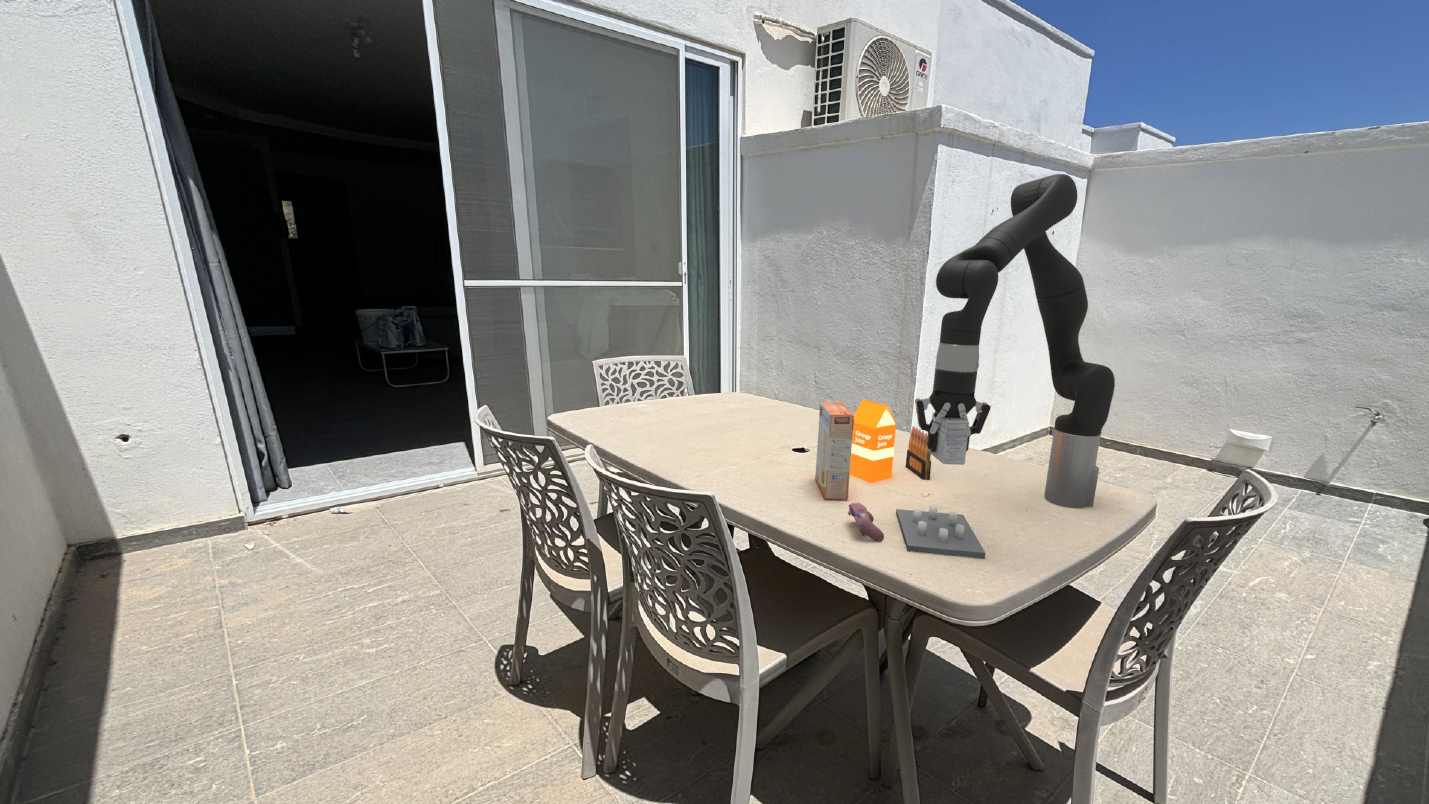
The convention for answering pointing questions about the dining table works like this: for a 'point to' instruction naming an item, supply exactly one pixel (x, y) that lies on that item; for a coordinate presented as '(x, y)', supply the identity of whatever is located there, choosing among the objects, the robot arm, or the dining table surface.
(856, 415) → the orange juice
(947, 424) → the medicine box
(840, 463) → the cracker box
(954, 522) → the stub jig
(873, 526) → the video game controller
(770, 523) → the dining table surface
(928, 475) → the ammunition clip
